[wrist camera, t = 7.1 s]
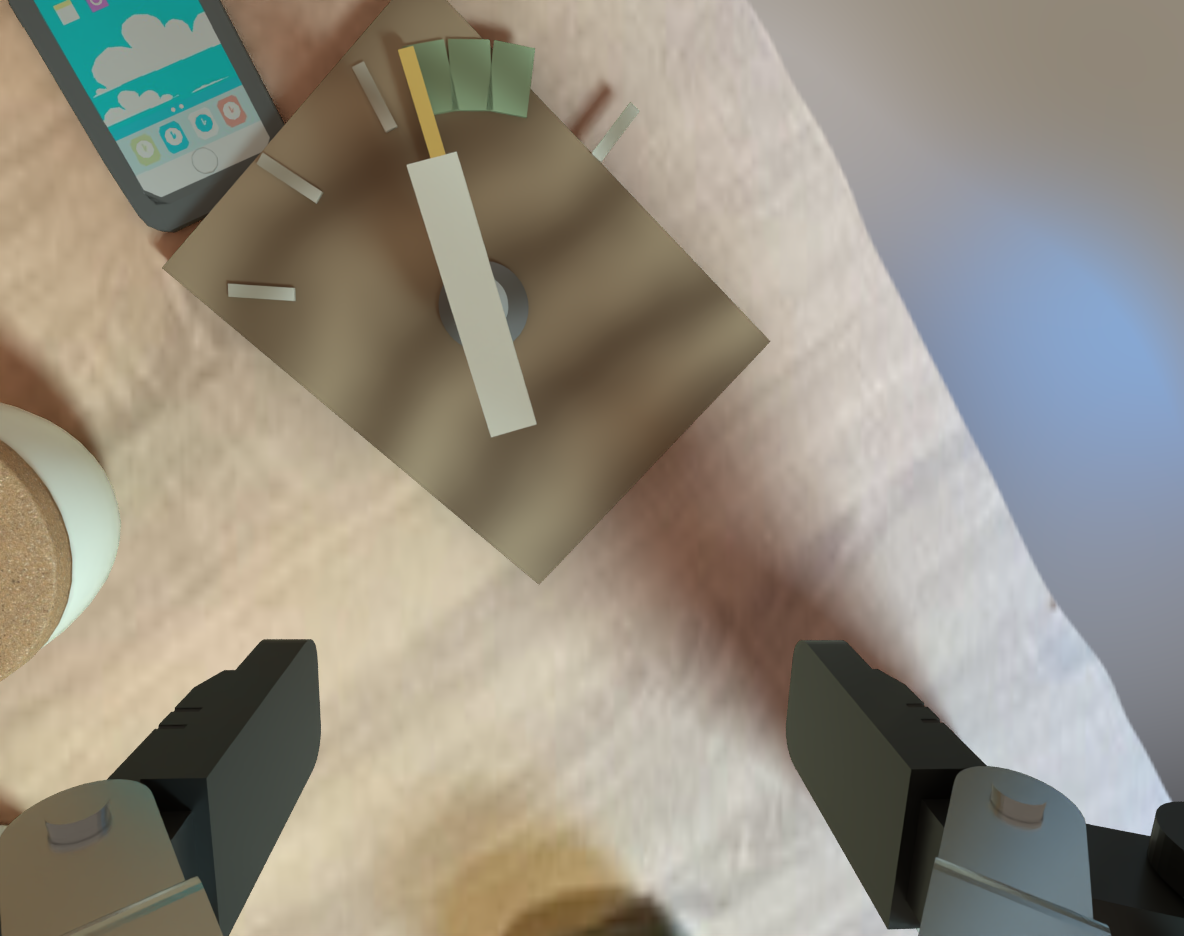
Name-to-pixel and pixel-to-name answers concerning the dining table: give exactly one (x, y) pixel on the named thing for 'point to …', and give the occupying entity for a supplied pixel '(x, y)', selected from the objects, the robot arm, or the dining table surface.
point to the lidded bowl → (49, 533)
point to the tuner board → (420, 304)
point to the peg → (466, 271)
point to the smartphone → (158, 96)
